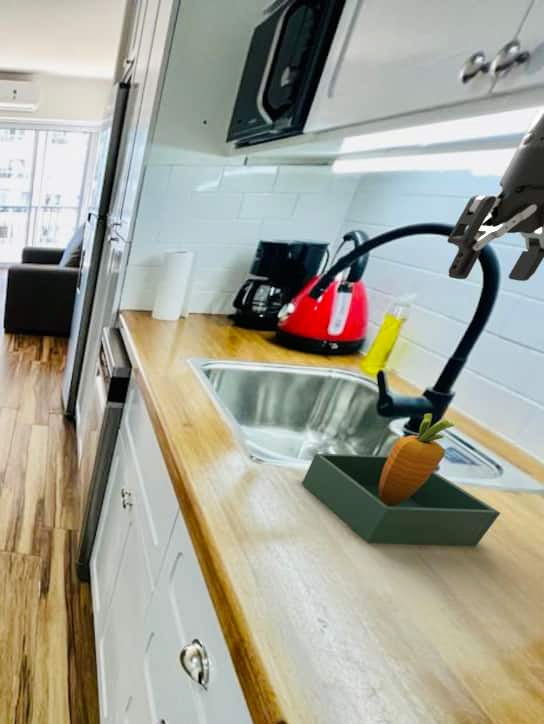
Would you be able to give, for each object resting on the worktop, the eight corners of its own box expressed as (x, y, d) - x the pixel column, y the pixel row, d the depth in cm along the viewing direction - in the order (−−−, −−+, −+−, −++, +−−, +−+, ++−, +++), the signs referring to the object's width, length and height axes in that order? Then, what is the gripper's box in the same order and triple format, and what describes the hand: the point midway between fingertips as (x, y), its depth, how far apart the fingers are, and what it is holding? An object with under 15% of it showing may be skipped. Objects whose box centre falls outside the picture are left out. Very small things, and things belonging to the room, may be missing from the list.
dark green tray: (392, 486, 76) (409, 456, 73) (475, 546, 63) (501, 512, 61) (301, 483, 76) (315, 453, 73) (367, 542, 64) (387, 508, 61)
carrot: (365, 495, 72) (415, 404, 65) (407, 509, 69) (465, 416, 62) (359, 508, 69) (411, 415, 62) (403, 524, 66) (464, 428, 59)
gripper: (534, 142, 57) (460, 283, 65) (656, 144, 57) (566, 285, 65) (476, 145, 64) (414, 273, 72) (585, 147, 64) (511, 275, 72)
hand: (487, 279), depth 68 cm, fingers open, 8 cm apart
